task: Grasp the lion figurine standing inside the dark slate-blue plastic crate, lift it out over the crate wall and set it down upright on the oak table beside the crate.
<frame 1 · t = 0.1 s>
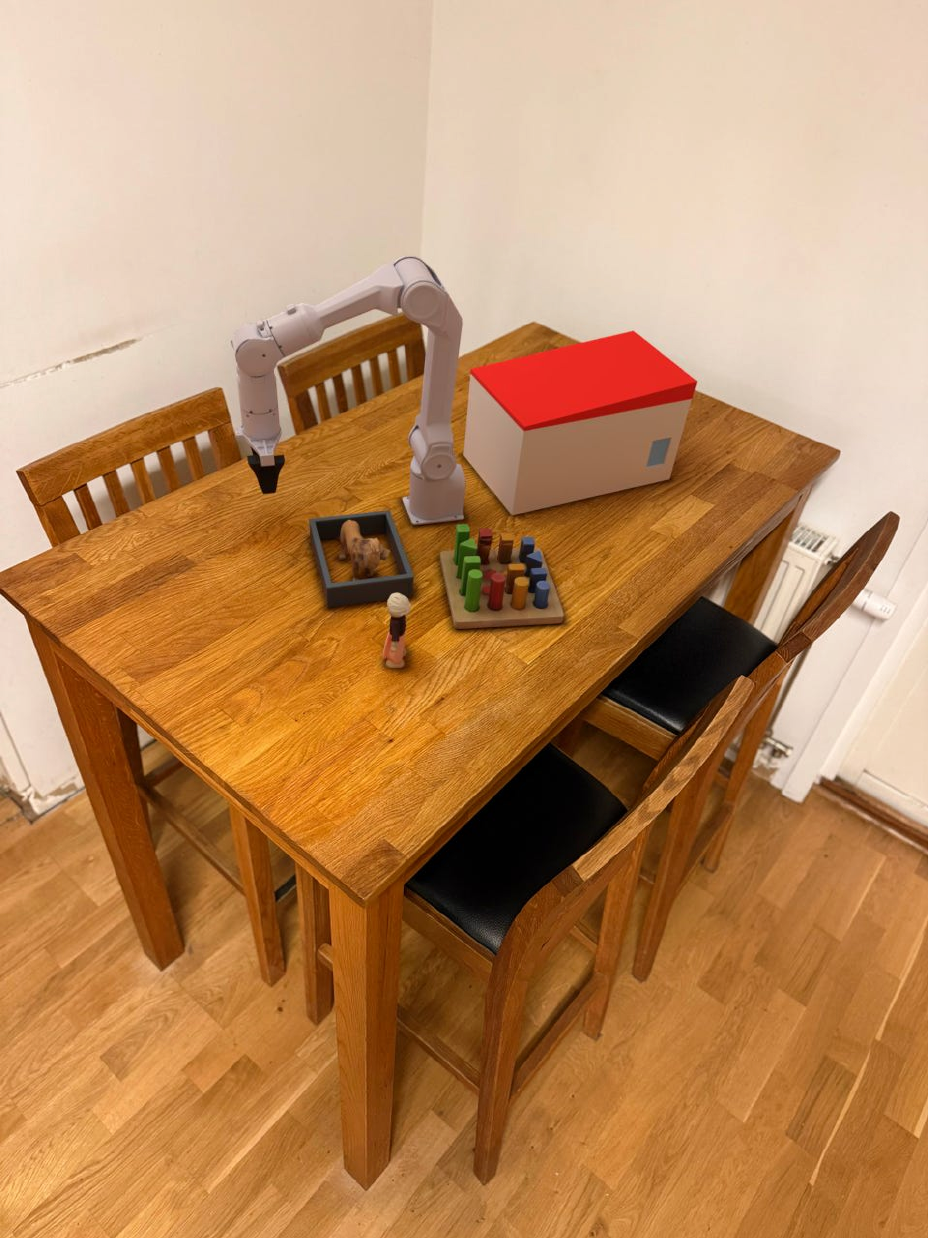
hand: (266, 478, 144), 10 cm above the table, tool pointing down, fingers open, 7 cm apart
lion figurine: (360, 567, 146), resting in crate
crate: (360, 566, 146), on the table
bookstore: (566, 467, 172), on the table
peg board: (499, 590, 144), on the table
grandmother figurine: (395, 661, 131), on the table
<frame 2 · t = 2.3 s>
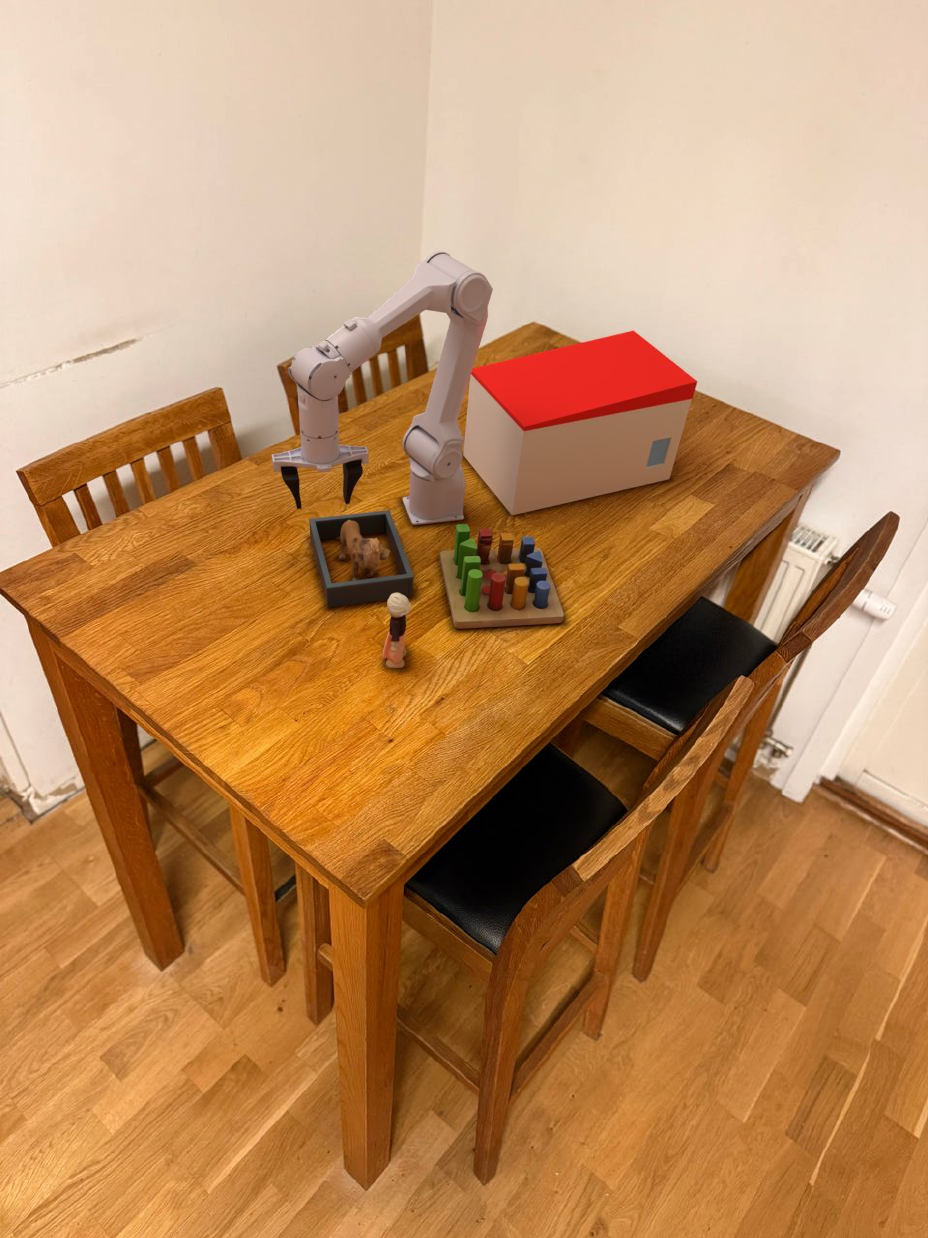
hand: (322, 502, 141), 10 cm above the table, tool pointing down, fingers open, 7 cm apart
nothing on the table moved.
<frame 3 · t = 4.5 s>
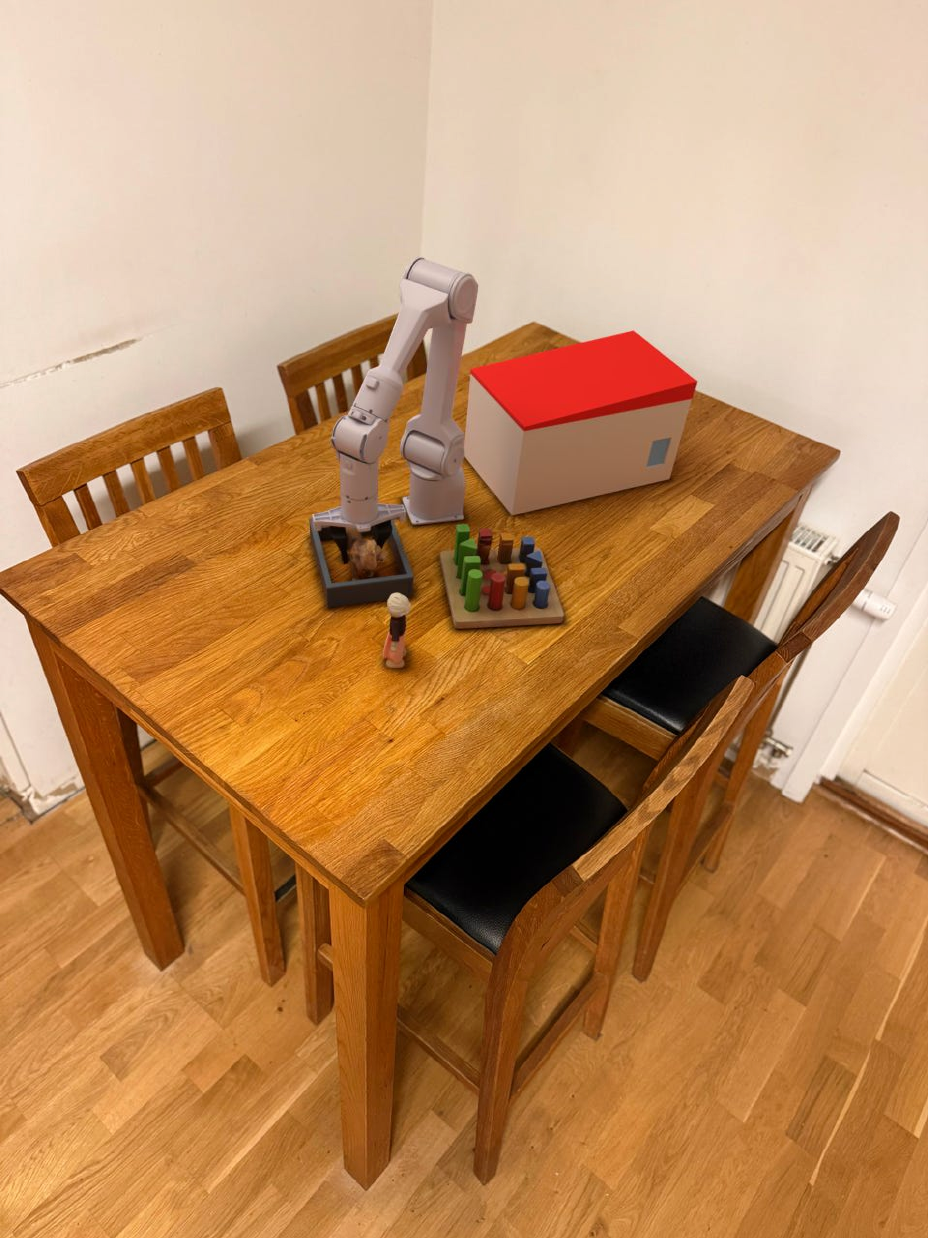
hand: (359, 558, 144), 2 cm above the table, tool pointing down, fingers closed on lion figurine, 4 cm apart
lion figurine: (361, 567, 146), resting in crate, touching gripper
everything else where it was.
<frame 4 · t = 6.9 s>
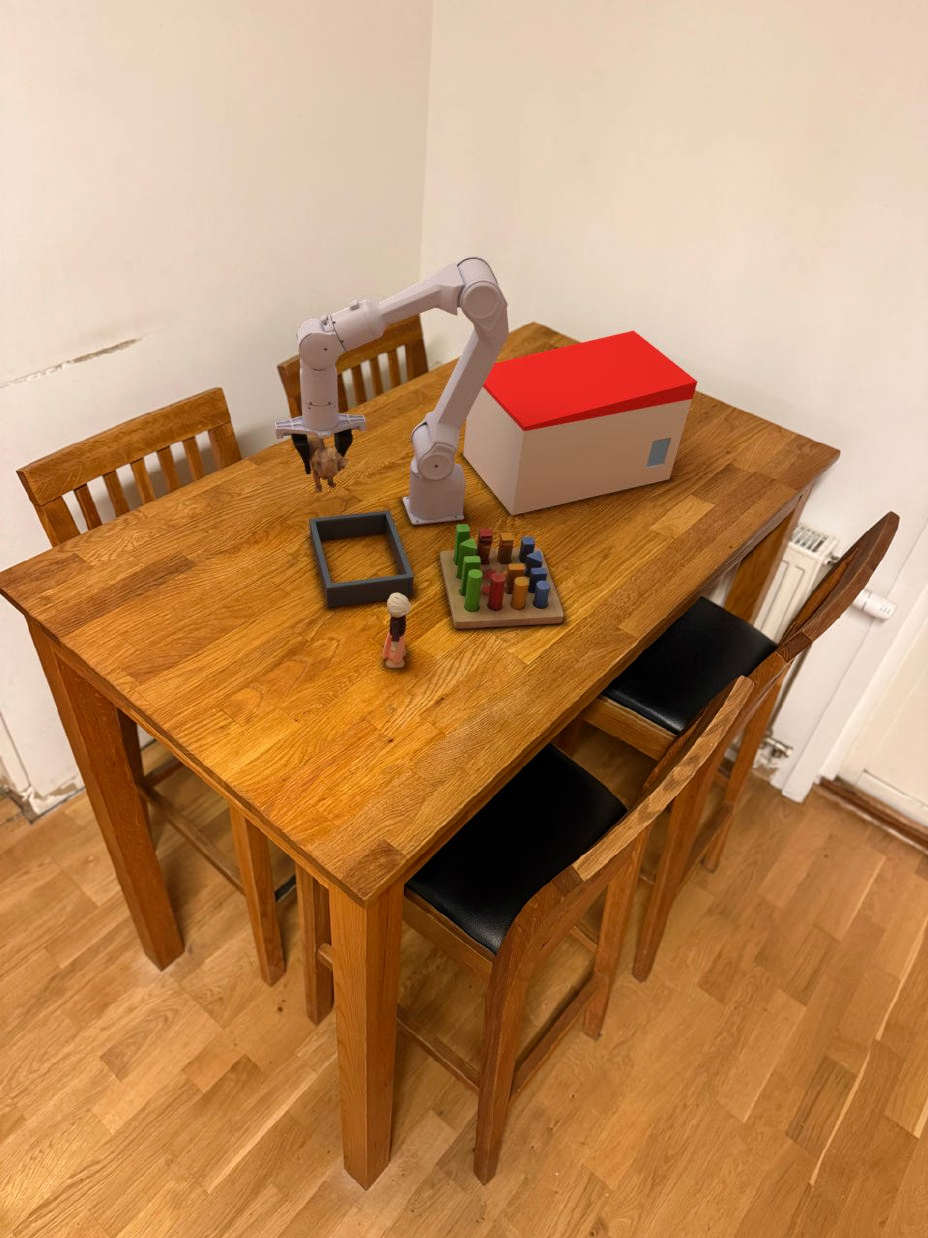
hand: (322, 469, 149), 9 cm above the table, tool pointing down, fingers closed on lion figurine, 4 cm apart
lion figurine: (324, 479, 150), point 7 cm above the table, touching gripper
everything else where it was.
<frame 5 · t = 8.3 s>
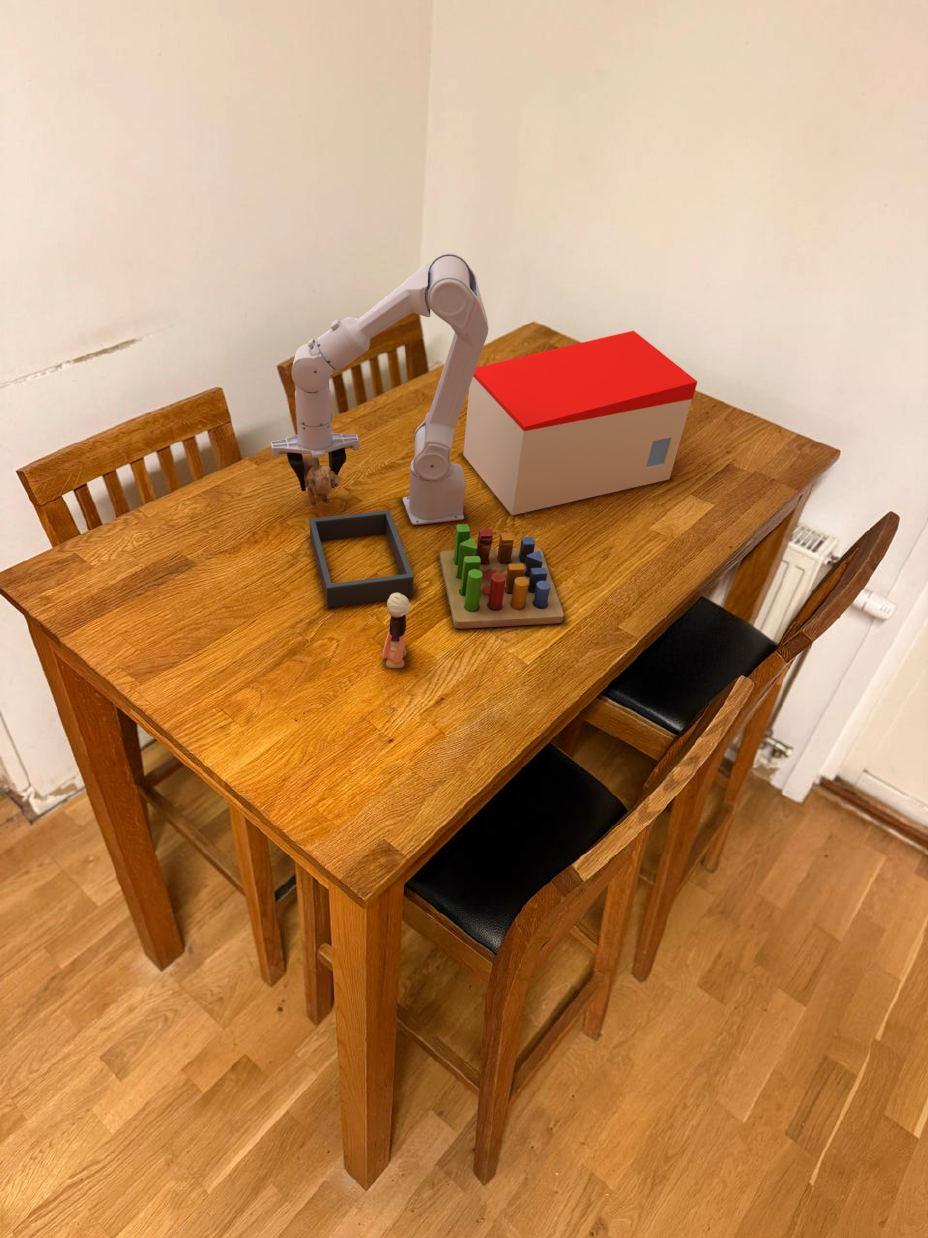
hand: (317, 486, 154), 4 cm above the table, tool pointing down, fingers closed on lion figurine, 4 cm apart
lion figurine: (318, 495, 155), point 2 cm above the table, touching gripper
everything else where it was.
when the fingers open (2 cm above the table, at t = 9.5 s): lion figurine stays where it is, on the table.
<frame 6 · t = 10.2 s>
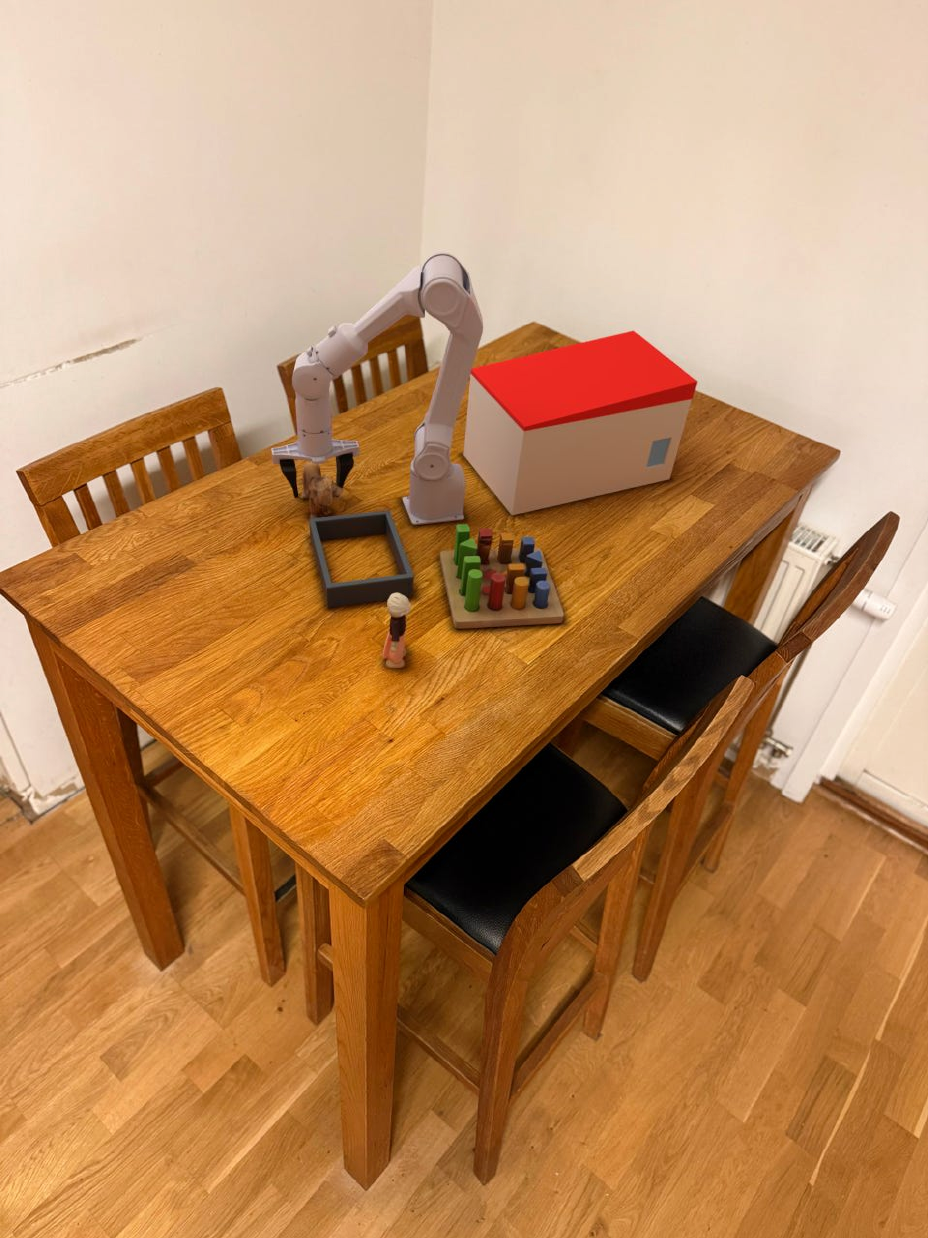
hand: (317, 492, 155), 3 cm above the table, tool pointing down, fingers open, 7 cm apart
lion figurine: (319, 506, 157), on the table
everything else where it was.
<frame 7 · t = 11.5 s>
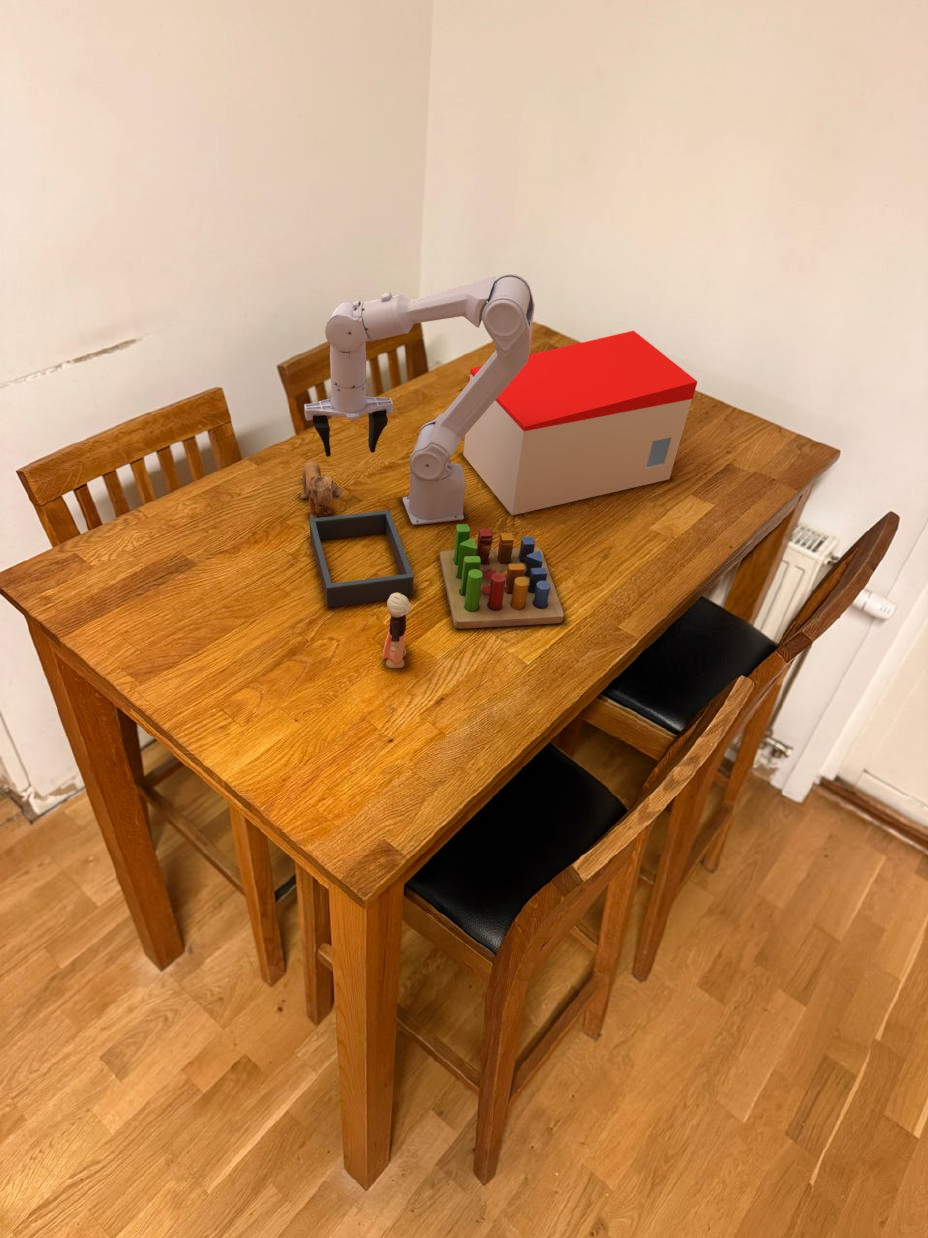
hand: (349, 451, 152), 10 cm above the table, tool pointing down, fingers open, 7 cm apart
nothing on the table moved.
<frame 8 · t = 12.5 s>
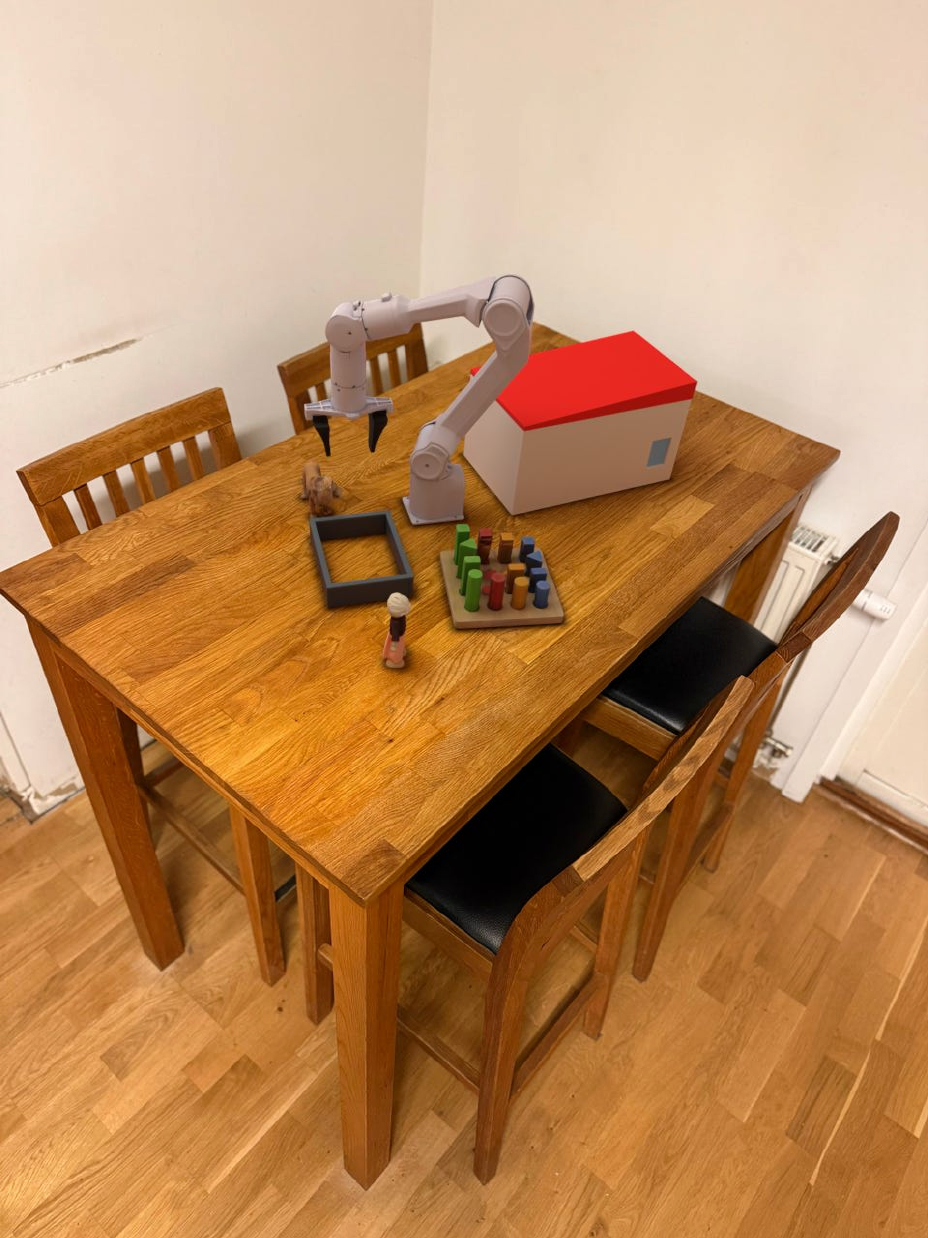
hand: (349, 451, 152), 10 cm above the table, tool pointing down, fingers open, 7 cm apart
nothing on the table moved.
at the end: lion figurine inside the target area (0.3 cm from its centre), on the table; lion figurine tilted 0°; the gripper is holding nothing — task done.
